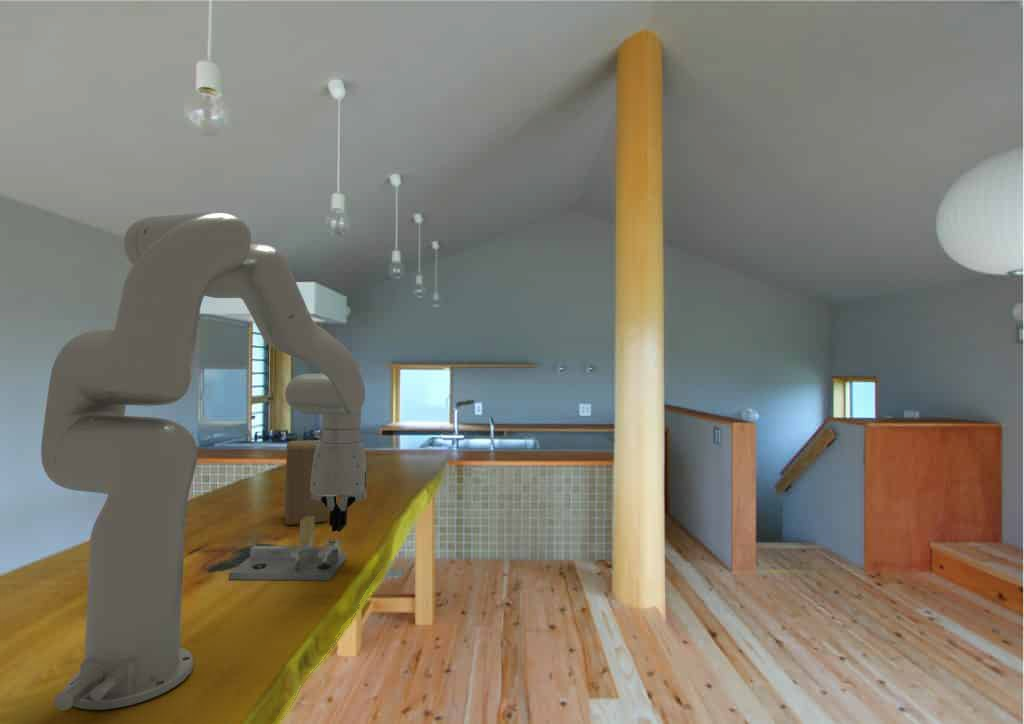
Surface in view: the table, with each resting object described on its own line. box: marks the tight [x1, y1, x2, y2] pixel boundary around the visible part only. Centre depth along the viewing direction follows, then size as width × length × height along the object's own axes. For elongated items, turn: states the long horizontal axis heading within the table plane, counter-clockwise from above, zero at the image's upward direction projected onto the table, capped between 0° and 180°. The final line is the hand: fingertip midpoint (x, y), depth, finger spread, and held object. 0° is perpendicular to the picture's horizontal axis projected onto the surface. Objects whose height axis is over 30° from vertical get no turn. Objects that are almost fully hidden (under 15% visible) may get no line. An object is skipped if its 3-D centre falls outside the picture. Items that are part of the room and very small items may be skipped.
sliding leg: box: [291, 516, 315, 566], centre depth 105 cm, size 8×2×8 cm, turn 3°
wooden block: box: [283, 439, 329, 526], centre depth 141 cm, size 10×10×20 cm
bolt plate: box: [228, 537, 347, 581], centre depth 105 cm, size 12×18×5 cm, turn 93°
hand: (338, 529), depth 108 cm, fingers closed
